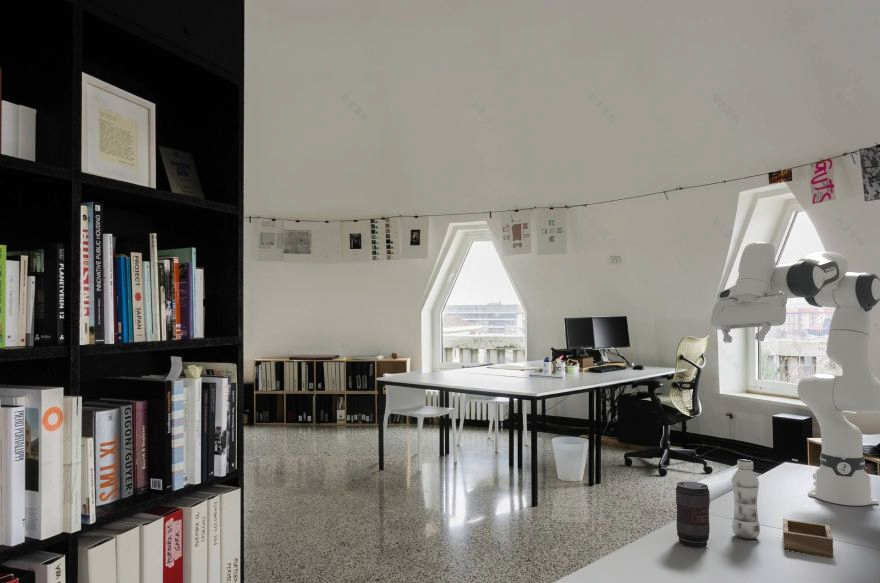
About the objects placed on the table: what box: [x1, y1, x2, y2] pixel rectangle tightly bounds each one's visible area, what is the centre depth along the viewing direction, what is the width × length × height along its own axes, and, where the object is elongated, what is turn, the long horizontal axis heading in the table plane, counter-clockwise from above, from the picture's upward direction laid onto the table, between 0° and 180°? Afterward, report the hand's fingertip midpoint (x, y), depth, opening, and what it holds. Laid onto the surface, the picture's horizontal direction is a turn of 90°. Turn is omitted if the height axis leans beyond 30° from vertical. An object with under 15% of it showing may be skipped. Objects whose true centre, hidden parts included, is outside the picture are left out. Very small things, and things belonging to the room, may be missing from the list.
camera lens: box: [675, 481, 711, 549], centre depth 166 cm, size 8×8×15 cm
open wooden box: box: [782, 518, 834, 559], centre depth 163 cm, size 12×10×4 cm
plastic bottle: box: [731, 459, 761, 540], centre depth 170 cm, size 6×7×20 cm
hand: (742, 341), depth 173 cm, fingers open, 8 cm apart
